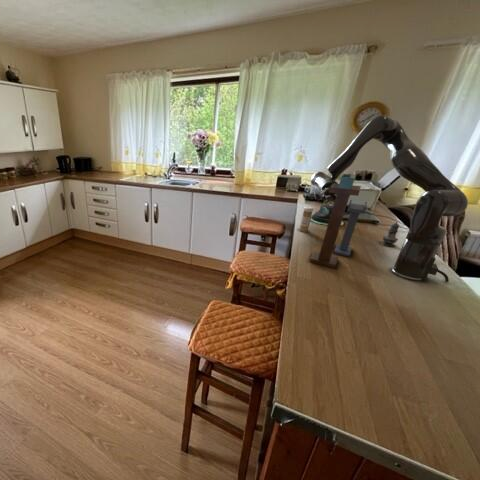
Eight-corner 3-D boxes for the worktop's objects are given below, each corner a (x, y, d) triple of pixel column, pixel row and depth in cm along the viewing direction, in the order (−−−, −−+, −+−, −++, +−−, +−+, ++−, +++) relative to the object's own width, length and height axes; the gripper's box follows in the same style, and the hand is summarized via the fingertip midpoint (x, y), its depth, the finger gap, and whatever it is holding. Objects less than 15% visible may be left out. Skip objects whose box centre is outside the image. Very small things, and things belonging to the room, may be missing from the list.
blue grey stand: (350, 249, 120) (367, 201, 111) (349, 257, 113) (366, 206, 104) (336, 246, 124) (350, 199, 115) (333, 253, 116) (348, 204, 107)
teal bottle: (354, 182, 105) (357, 172, 104) (351, 189, 91) (354, 178, 90) (342, 181, 108) (345, 171, 106) (338, 188, 94) (341, 177, 92)
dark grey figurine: (382, 245, 125) (391, 222, 120) (378, 241, 130) (386, 219, 125) (397, 247, 123) (407, 224, 118) (392, 243, 128) (401, 220, 123)
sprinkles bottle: (309, 231, 143) (315, 207, 137) (305, 232, 140) (311, 209, 135) (301, 228, 146) (307, 205, 141) (297, 230, 144) (302, 207, 139)
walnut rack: (337, 260, 110) (360, 186, 98) (334, 269, 103) (359, 190, 90) (313, 254, 115) (333, 183, 103) (309, 262, 108) (330, 186, 95)
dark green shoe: (353, 224, 151) (321, 225, 150) (331, 229, 169) (302, 230, 168) (350, 199, 152) (318, 201, 151) (328, 207, 171) (299, 208, 170)
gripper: (310, 183, 122) (316, 191, 109) (346, 176, 116) (357, 183, 103) (312, 198, 125) (317, 207, 111) (347, 192, 119) (357, 201, 105)
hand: (336, 196), depth 107 cm, fingers open, 8 cm apart
